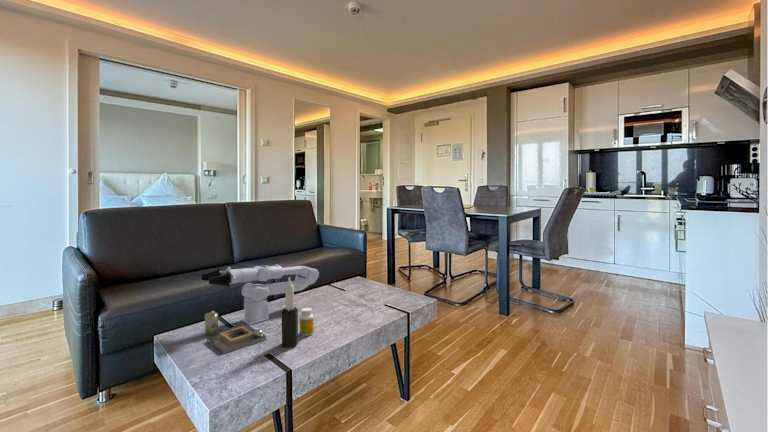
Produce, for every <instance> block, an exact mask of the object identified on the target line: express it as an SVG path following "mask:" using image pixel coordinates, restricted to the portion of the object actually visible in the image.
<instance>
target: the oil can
mask: <svg viewBox="0 0 768 432" xmlns="http://www.w3.org/2000/svg"><path fill="white" fill-rule="evenodd" d="M204 335H205V337H206V338H208V337H212V336H215V335H219V312H217V311H215V310H211V312H210V311H209V312H206V313H205V314H204Z"/></svg>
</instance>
